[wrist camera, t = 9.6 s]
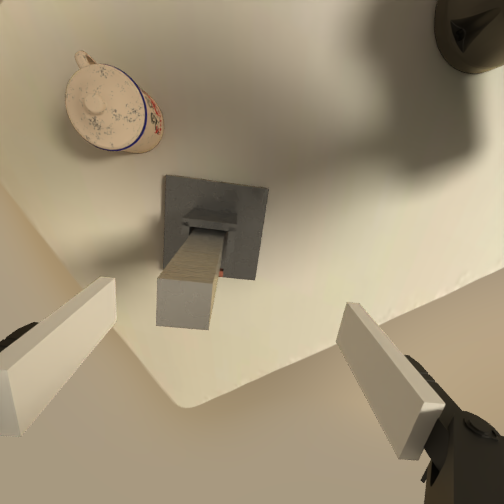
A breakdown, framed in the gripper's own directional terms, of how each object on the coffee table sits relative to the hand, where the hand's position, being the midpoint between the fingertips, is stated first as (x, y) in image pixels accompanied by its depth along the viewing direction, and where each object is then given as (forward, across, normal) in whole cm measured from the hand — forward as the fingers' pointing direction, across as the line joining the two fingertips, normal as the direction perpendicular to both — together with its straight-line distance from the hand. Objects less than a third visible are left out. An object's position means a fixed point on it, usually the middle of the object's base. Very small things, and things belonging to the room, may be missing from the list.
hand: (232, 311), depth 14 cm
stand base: (+30, -4, -3) cm, 30 cm away
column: (+22, -4, -3) cm, 23 cm away
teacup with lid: (+30, -18, +13) cm, 37 cm away
